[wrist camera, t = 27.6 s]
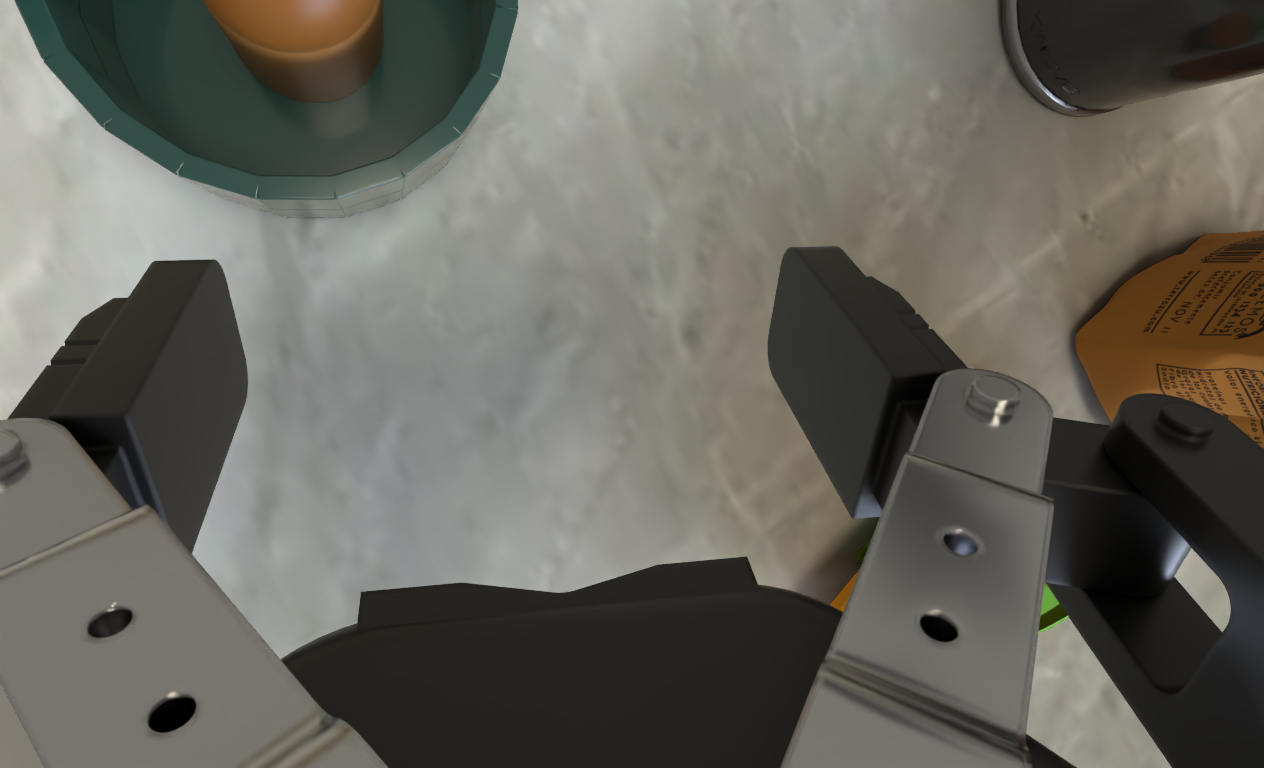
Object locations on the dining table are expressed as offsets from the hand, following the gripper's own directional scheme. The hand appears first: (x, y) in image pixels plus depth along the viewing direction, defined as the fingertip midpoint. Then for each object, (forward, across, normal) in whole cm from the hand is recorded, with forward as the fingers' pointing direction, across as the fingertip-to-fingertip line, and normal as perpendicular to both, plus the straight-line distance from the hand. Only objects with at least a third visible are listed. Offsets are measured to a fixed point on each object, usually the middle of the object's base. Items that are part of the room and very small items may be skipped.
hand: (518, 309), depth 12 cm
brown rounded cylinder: (+23, +6, +1) cm, 23 cm away
